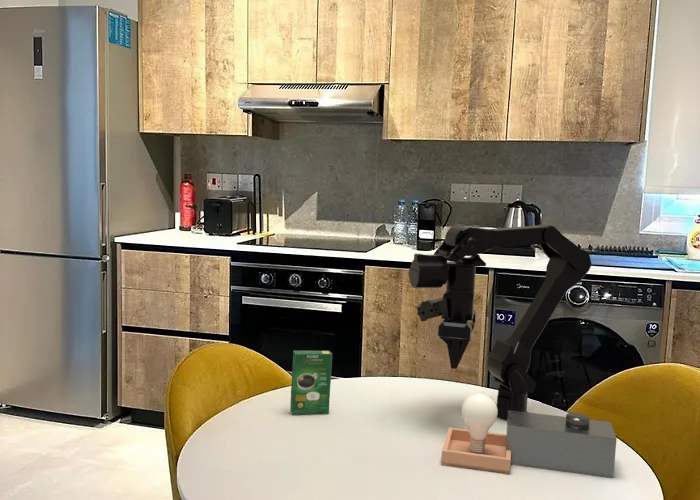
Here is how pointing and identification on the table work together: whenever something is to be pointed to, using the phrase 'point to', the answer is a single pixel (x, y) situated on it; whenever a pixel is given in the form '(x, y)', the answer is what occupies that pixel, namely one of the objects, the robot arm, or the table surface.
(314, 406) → the coffee box
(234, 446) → the table surface
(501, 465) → the dish
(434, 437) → the table surface
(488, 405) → the lightbulb
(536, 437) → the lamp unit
